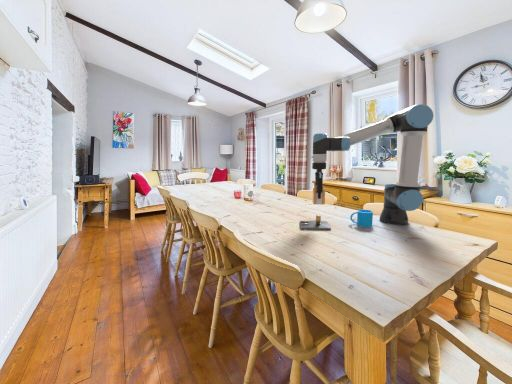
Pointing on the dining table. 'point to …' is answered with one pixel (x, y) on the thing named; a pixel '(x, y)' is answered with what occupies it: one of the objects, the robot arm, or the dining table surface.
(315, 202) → the brown rectangular block
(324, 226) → the plate
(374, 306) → the dining table surface
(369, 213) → the mug
